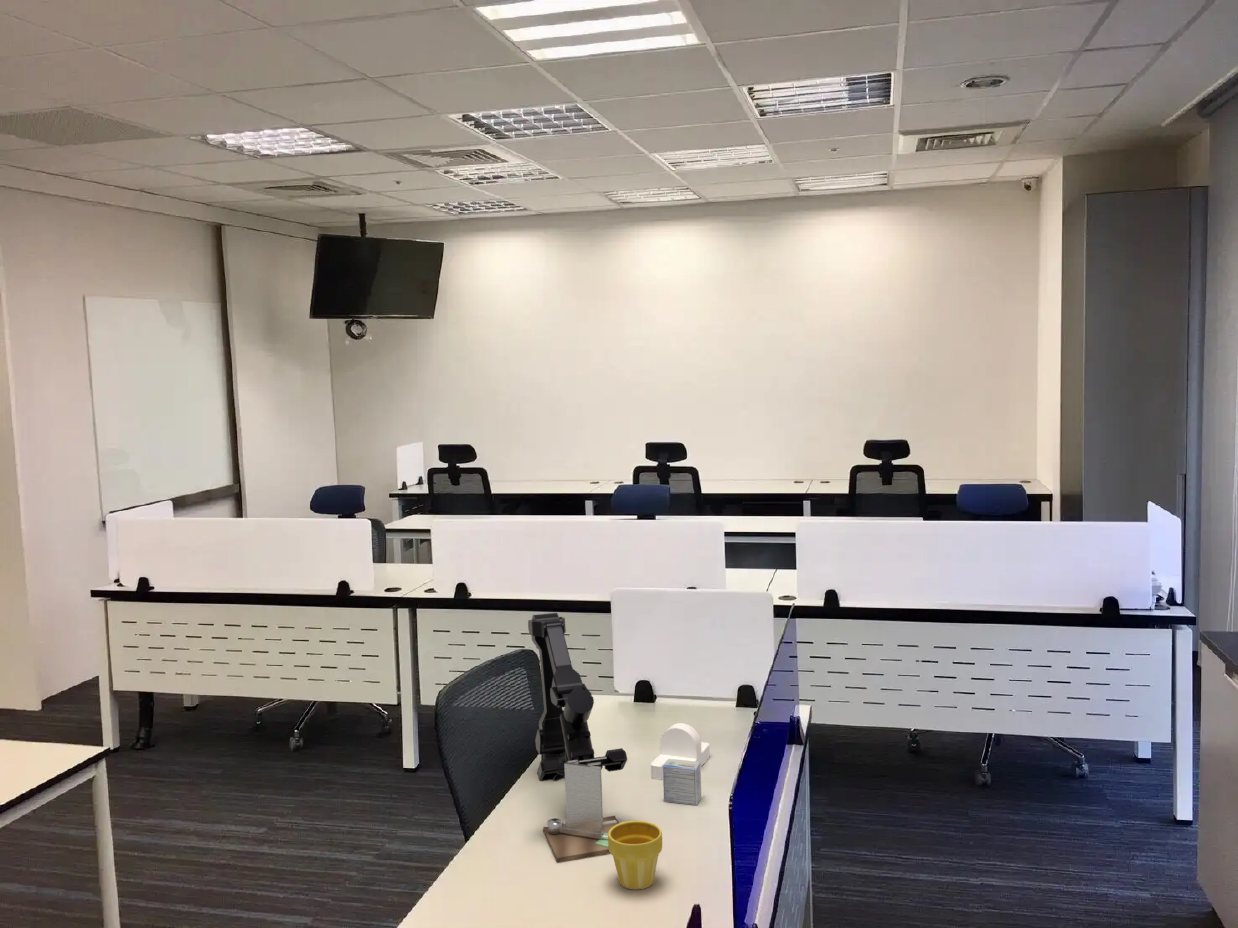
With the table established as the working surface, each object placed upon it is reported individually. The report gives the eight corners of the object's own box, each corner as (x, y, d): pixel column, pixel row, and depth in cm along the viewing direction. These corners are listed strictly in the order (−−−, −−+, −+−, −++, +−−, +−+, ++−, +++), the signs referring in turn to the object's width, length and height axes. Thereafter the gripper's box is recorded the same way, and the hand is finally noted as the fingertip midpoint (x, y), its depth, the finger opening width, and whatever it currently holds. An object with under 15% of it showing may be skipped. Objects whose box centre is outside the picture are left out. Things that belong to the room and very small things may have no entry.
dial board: (557, 862, 191) (557, 856, 191) (543, 831, 205) (542, 826, 205) (633, 849, 196) (633, 843, 196) (614, 819, 209) (614, 814, 209)
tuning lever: (545, 832, 202) (542, 763, 200) (551, 826, 204) (549, 757, 203) (613, 843, 196) (610, 772, 194) (618, 837, 199) (616, 766, 197)
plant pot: (626, 862, 191) (625, 815, 190) (672, 874, 186) (671, 826, 185) (599, 886, 182) (597, 837, 181) (647, 900, 177) (645, 849, 176)
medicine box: (701, 797, 219) (701, 761, 218) (697, 806, 215) (696, 769, 214) (668, 794, 222) (667, 757, 221) (663, 802, 217) (662, 765, 217)
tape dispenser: (649, 779, 230) (648, 736, 229) (675, 752, 247) (674, 711, 246) (687, 785, 227) (686, 741, 226) (710, 756, 243) (709, 715, 242)
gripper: (611, 743, 218) (625, 811, 208) (530, 754, 213) (541, 824, 203) (619, 722, 209) (635, 791, 200) (535, 733, 204) (548, 805, 195)
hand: (590, 803), depth 200 cm, fingers closed
